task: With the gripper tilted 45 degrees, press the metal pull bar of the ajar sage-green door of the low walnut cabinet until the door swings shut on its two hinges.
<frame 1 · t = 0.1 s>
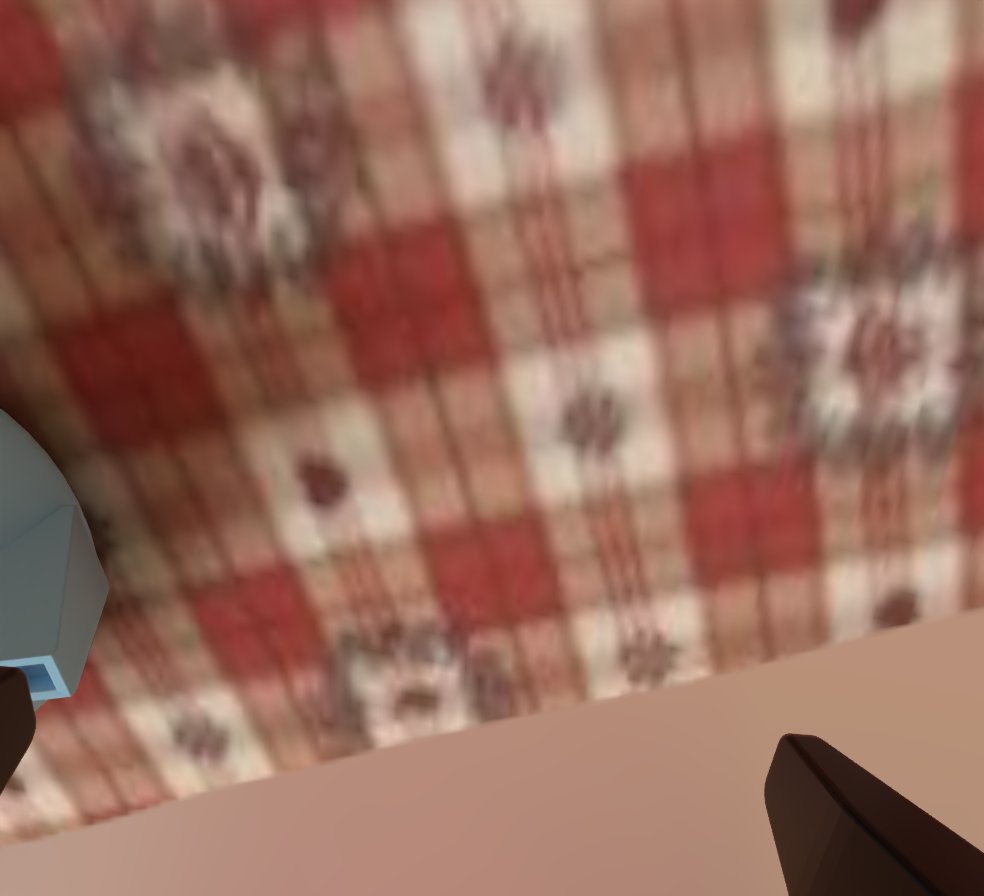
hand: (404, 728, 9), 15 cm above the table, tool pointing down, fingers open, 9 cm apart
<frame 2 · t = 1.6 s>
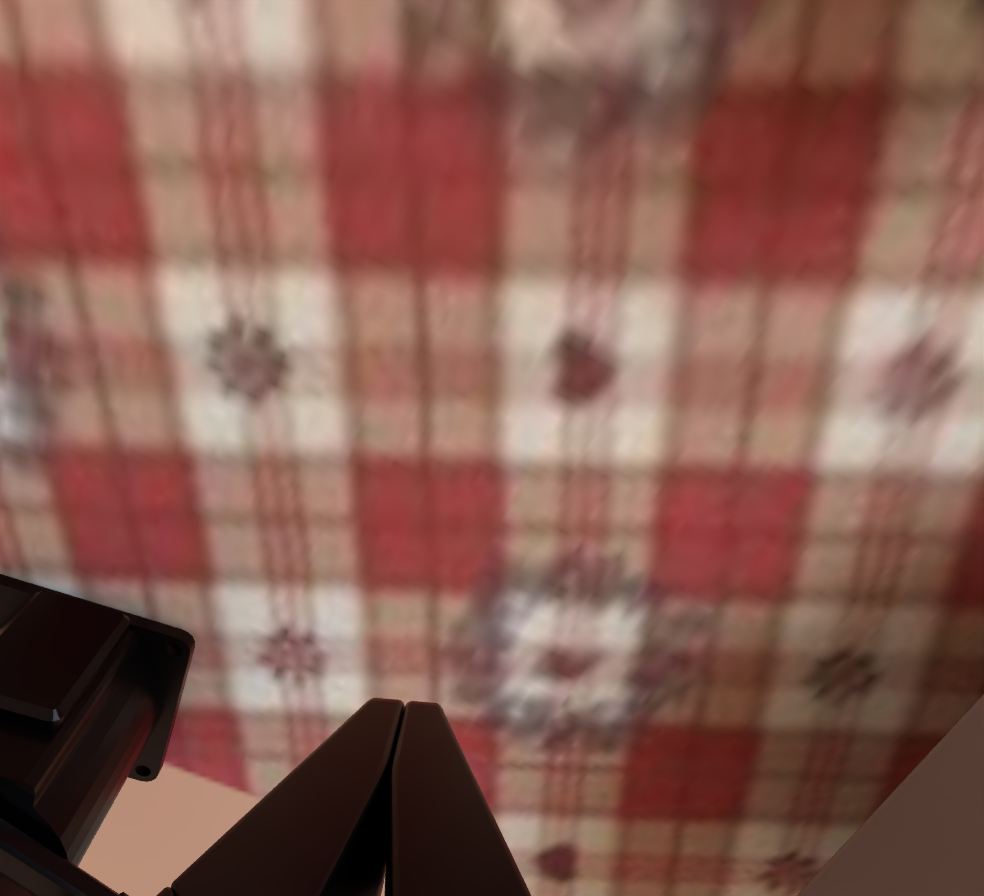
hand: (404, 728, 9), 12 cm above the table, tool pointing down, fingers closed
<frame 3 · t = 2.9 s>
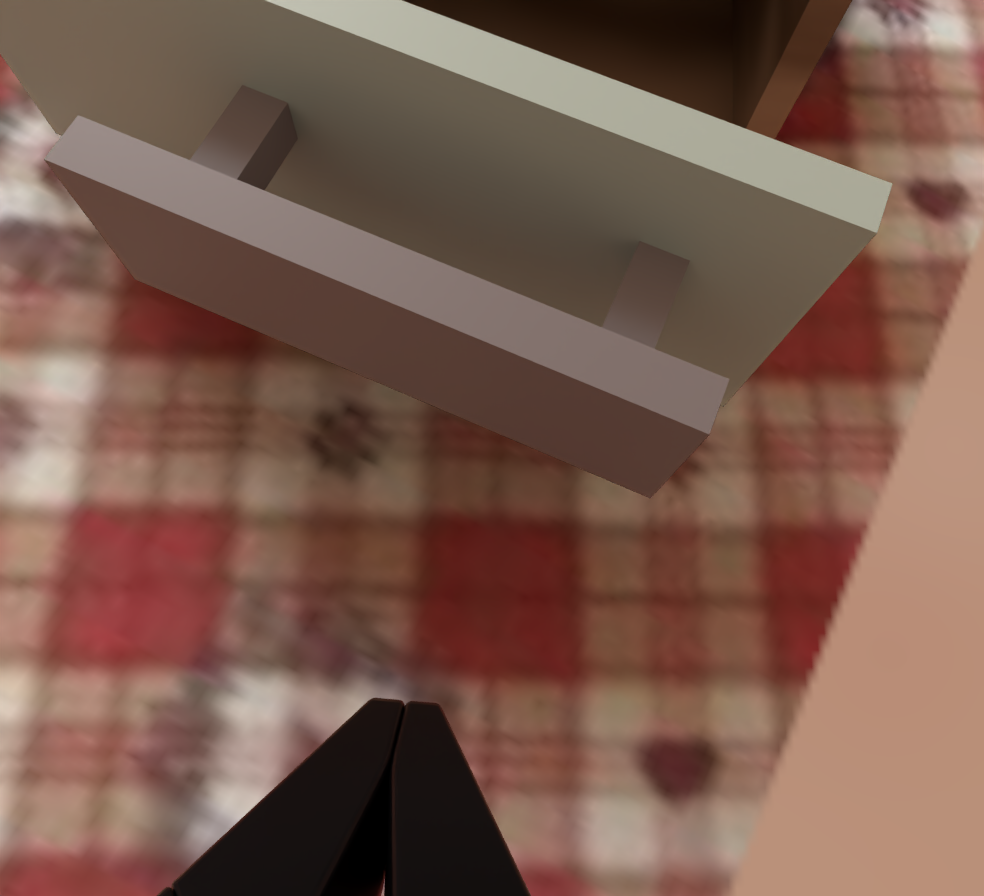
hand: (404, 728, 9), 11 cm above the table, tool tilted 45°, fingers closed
cabinet door: (317, 217, 19), point 5 cm above the table, hinge at 18.0°
cabinet: (442, 3, 27), on the table
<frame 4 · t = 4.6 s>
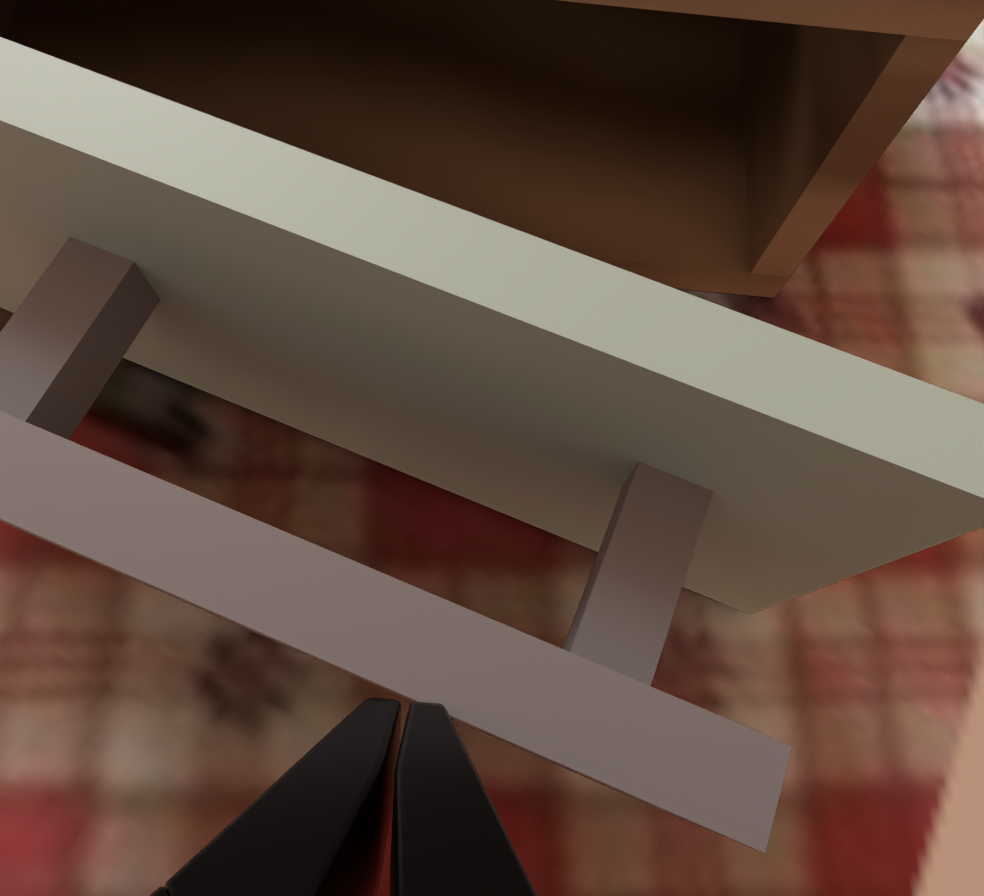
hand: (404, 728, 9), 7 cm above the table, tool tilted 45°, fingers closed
cabinet door: (185, 412, 13), point 5 cm above the table, hinge at 17.8°, touching gripper
cabinet: (383, 79, 22), on the table
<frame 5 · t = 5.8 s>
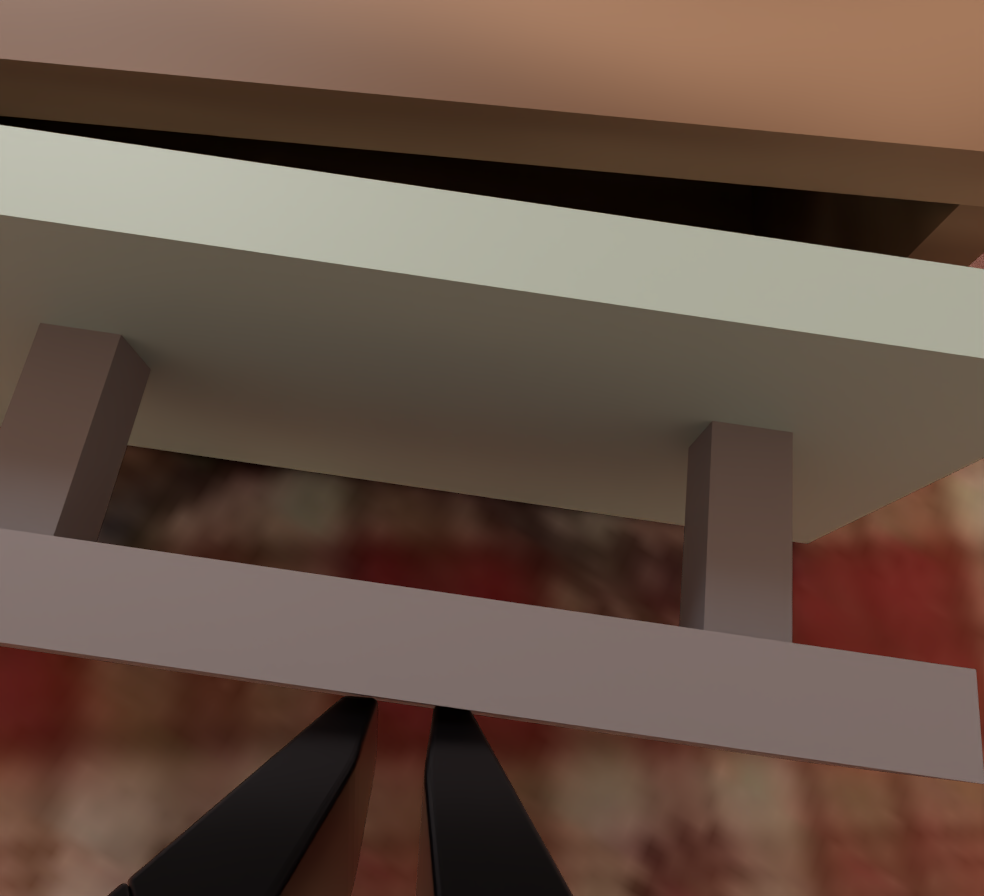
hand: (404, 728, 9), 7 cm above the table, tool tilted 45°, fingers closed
cabinet door: (212, 483, 12), point 5 cm above the table, hinge at 3.8°, touching gripper
cabinet: (354, 171, 20), on the table
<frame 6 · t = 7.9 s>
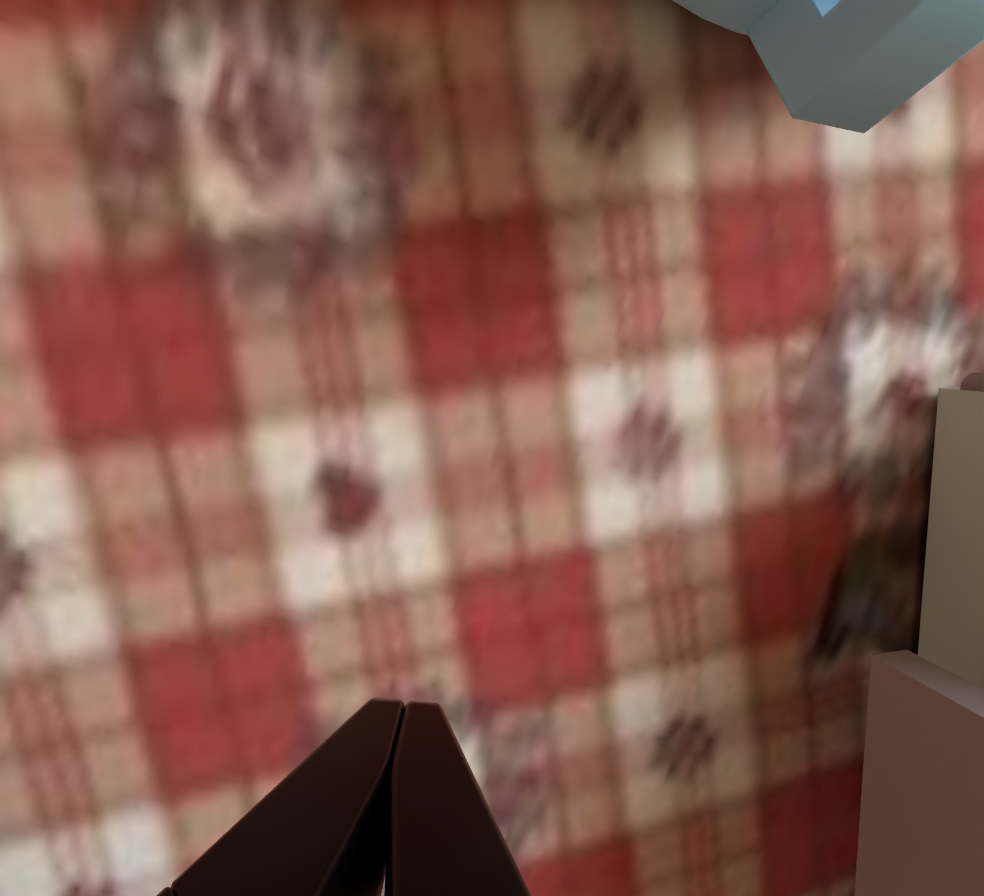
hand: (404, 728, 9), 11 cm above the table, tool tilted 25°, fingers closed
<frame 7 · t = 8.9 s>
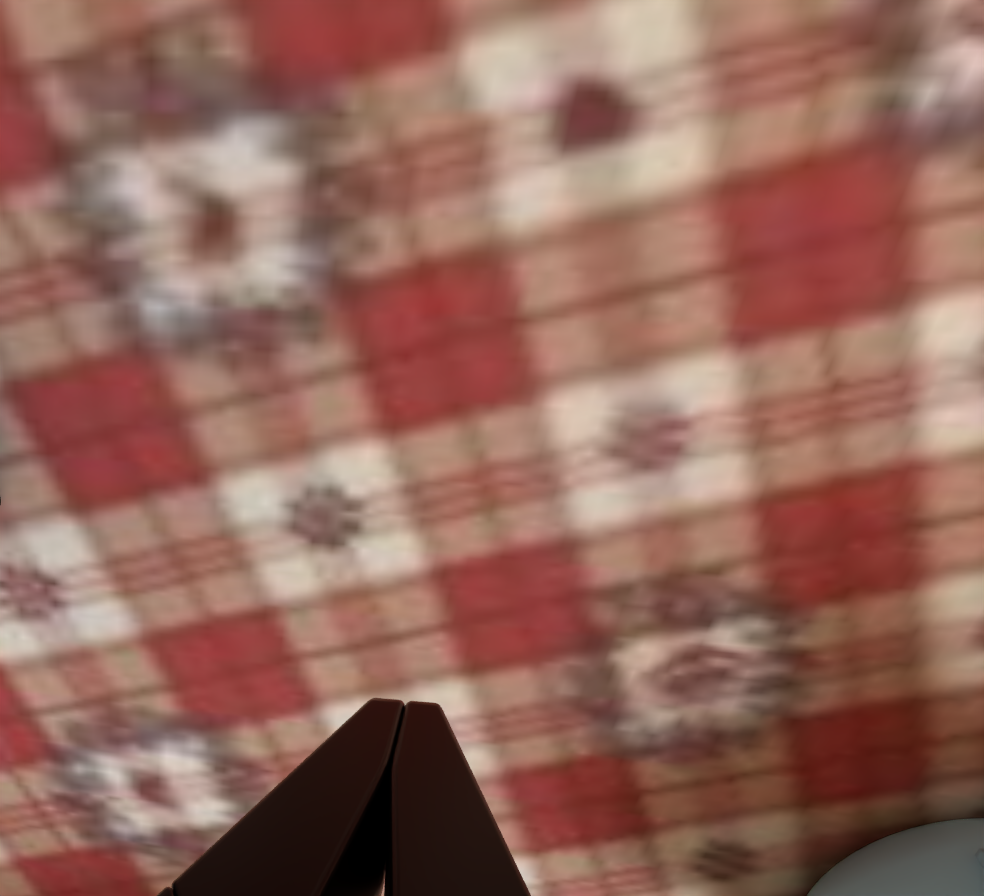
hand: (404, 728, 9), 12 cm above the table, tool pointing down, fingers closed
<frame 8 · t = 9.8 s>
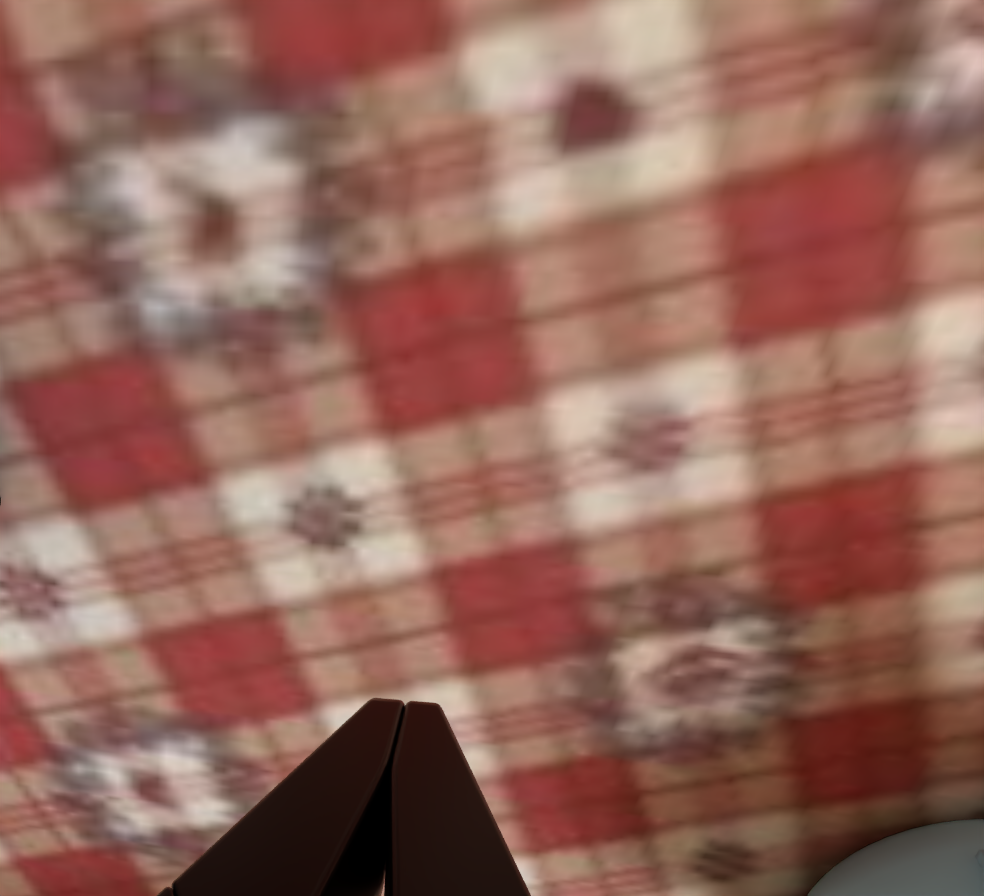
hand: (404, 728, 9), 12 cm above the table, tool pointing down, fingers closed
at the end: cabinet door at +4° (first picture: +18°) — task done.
